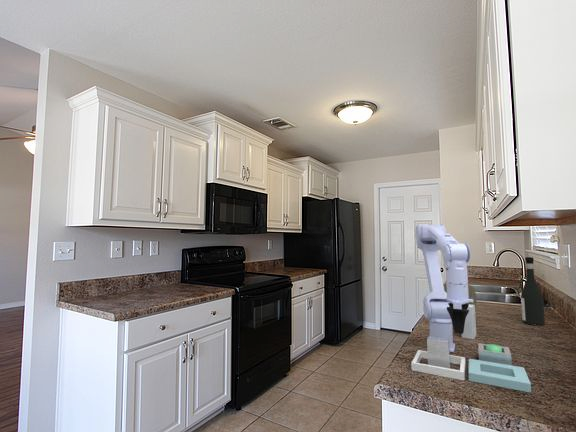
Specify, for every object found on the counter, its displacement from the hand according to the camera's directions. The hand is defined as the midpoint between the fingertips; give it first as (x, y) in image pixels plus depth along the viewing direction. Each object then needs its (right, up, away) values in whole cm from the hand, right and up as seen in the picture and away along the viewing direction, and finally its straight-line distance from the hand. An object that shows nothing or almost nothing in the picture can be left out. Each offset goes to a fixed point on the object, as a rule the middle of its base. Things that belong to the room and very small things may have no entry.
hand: (459, 330), depth 93 cm
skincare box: (+19, -13, +28) cm, 37 cm away
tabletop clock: (+26, -15, +49) cm, 57 cm away
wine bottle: (+61, -15, +49) cm, 80 cm away
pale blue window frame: (+5, -9, -9) cm, 14 cm away
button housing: (+12, -10, +2) cm, 16 cm away
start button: (+12, -9, +2) cm, 15 cm away
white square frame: (-7, -10, -2) cm, 12 cm away
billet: (-7, -10, -2) cm, 12 cm away
